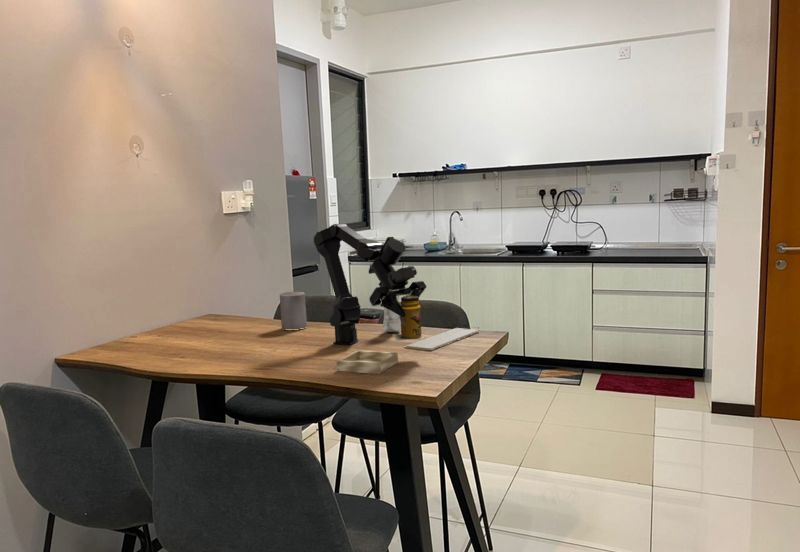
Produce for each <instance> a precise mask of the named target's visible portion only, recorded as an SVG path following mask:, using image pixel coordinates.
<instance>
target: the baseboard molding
mask: <svg viewBox="0 0 800 552" xmlns="http://www.w3.org/2000/svg"><path fill="white" fill-rule="evenodd" d="M455 326H456V325H455V324H453V325H452V326H451V329H450V330H447V332H446V331H444V332H441V333H438V334H435V335H432V336H430V337H427V338H423V339H421V340H419V341H416V343H415V342H412V343H410V344H407V345H405V346H403V347H407V348H406V349H409V348H414V349H413V350H417V349H423V350H422V351H424V350H432V351H434V350H433V349H435V348H438V347H440V346H443V345H445V344H448V343H450V344H452V343H451V342H453V341H456V340H458V339H461V338H463V339H465V338H464V337H466V338H468V337H467V336H469V335H471V334H474V335H476V334H478V333H480V330H479V329H480V327H473V329H472V328H467V327H469V325H468V324H462V327H464V328H462V327H461V328H459V327H455ZM454 327H455V328H454ZM465 327H466V328H465ZM474 328H475V329H474ZM476 328H477V329H476ZM476 331H479V332H476ZM475 333H476V334H475ZM471 336H472V335H471ZM469 337H470V336H469ZM461 340H462V339H461ZM458 341H459V340H458ZM456 342H457V341H456ZM453 343H454V342H453ZM448 345H449V344H448ZM445 346H446V345H445ZM443 347H444V346H443ZM440 348H441V347H440ZM438 349H439V348H438ZM435 350H436V349H435Z"/></svg>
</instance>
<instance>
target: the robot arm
mask: <svg viewBox="0 0 800 552" xmlns="http://www.w3.org/2000/svg"><path fill="white" fill-rule="evenodd" d="M341 242H344V243H345V244H346V245H349V246H350V247H351V248H353V250H355V252H356V255H357V256H358V257H359V258H360V259H361V260H362V262H365V263H367V262H372V264H370V265H369V268H368V274H369V275H371V274H372V275H373V274H374V275H375V276H376V278H377V279H378V281H379V282H378V287H377V286H376V287H375V288H374V289H373V291H372V293H371V294H370V296H369V303H370V304H371V306H372V307H375V306H380V307H382V308H384V307H385V308H387V309H389V310H391V311H393V312H394V313H396V314H398V315H399V317H400V316H401V317H405V313H404V311H403V309H402V308H401V303H399V302H398V301H397V298H396V296H399V297H400V296H401V297H403V296H418V298H419V299H420V296H421V295H422V294H423V293H424V292H425V290H426V289H427V285H426V284H425V282H424V281H423V280H419V281H418V280H417V281H412V282H411V283H410V285H409V286H408V284H409V280H411V279H414V278H415V276H416V275H417V274H418V271H417V269H416V268H415V266H414V265H412V264H411V265H408V266H406V267H401V268H398V269H397V270H396V269H395V268H394V266H395V265H397V263H398V262H399V260H400V259H401V258H402V256H403V255H404V253H405V252H406V246H405V244H404V243H403V242H401V240H399V239H396V238H395V237H394V236H387V238H386V239H385V242H384V243H382V242H380V241H378V240H374V239H369V238H365V237H364V236H363V235H361V234H360V233H358V232H356V231H355V230H353V229H352V228H351V227H349V226H348V225H347V224H346V223H333V224H331V225H330V226H329V227H326V228H324V229H322V230H320V231H317V232H316V233H315V235H314V236H313V243H314V245H315V248H316V251H317V252H318V253H319V254H320V255H321V256H322V258H324V261H325V265H326V269H327V271H328V276H329V278H330V283H331V286H332V289H333V292H334V293H333V294H334V297H335V299H334V303H333V313H332V315H331V316H330V318H329V323H330V326H331V327H334V336H335V337H334V338H335V339H334V340H335V341H333V342H332V344H333V345H334V344H335V345H352V344H354V343H357V342H358V341H359V339H358V336H357V335H358V329H357V328H356V325H357V324H359V323H360V319H361V314H362V310H361V305H360V302H359V298H358V296H354V295H352V294H351V293H350V289H349V286H348V282H347V279H346V276H345V272H344V269H343V265H342V261H341V259H340V258H341V257H340V256H339V253H340V250H341ZM406 286H408V287H406ZM420 303H421V302H419V305H420V306H421V304H420ZM420 309H421V310H422V308H421V307H420Z"/></svg>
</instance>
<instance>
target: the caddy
mask: <svg viewBox="0 0 800 552" xmlns="http://www.w3.org/2000/svg"><path fill="white" fill-rule="evenodd" d="M397 363H399V353H398V352H391V351H378V350H377V351H376V350H374V351H373V350H360V349H358V350H355V351H352V352H351V353H349V354H348V355H345V356H344V357H341V358H340V359H338V360H336V371H337V372H349V373H361V374H374V375H375V374H376V375H377V374H378V375H380V374H382V373H383V372H385V371H386V370H388V369H389V368H392V366H395V365H396V364H397Z"/></svg>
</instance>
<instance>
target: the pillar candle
mask: <svg viewBox="0 0 800 552" xmlns="http://www.w3.org/2000/svg"><path fill="white" fill-rule="evenodd" d="M279 305H280V321H281V330H282V329H300V328H305V327H308V321H307V319H308V318H307V309H306V308H307V307H306V293H305V292H303V291H289V292H288V291H287V292H282V293H280V294H279ZM305 329H306V328H305Z"/></svg>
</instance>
